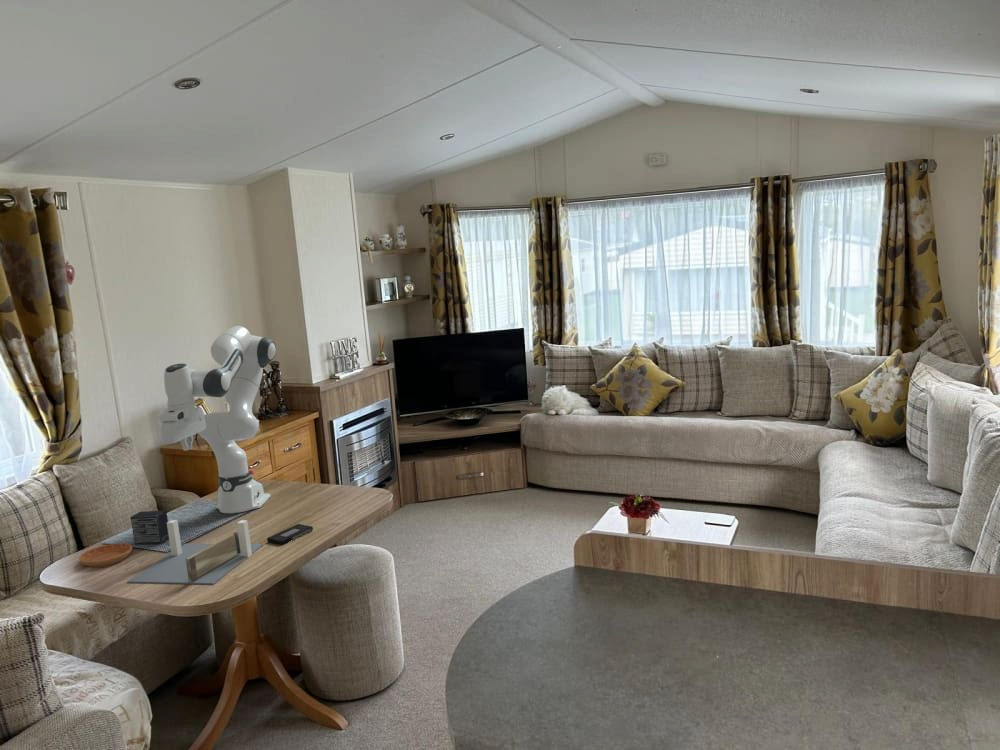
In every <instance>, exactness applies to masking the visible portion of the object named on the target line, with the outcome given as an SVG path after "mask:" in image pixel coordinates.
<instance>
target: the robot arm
mask: <svg viewBox="0 0 1000 750" xmlns="http://www.w3.org/2000/svg"><path fill="white" fill-rule="evenodd" d="M276 352H277V346H276V343H275V341H274V340H273V339H271V338H269V337H265V336H264V337H263V336H258V335H252V334H251V332H250V331H249V330H248V329H247V327H244V326H241V325H234V326H231V327H230V328H228V329H227V330H225V331H224V332H222V333H221V334H220V335H218V337H217V338H216V339H215V340H214V341H213V343H211V346H210V354H211V357H212V358H213V360H214V361H215V363H217V364H218V365H220V367H218V368H214V369H193V368H191V367H189V366H188V364H187V363H176V364H172V365H169V366H167V367H166V368H165V370H164V374H163V377H164V378H163V379H164V380H163V381H164V391H165V394H166V397H167V403H166V404H167V407H166V409H165V410H164V411H163V412H162V413H161V414H160V415H159V417H158V418H159V422H161V426H160V429H161V431H160V432H161V437H162V441H163V443H164V444H166V445H168V444H169V445H171V444H176V443H178V442H179V443H180V444H181V446H182V451H183V452H184V451H185V452H186V451H189V450H192V449H193V442H194V436H195V435H197V434H198V435H199V436H200V437H201V438H202V439H204V440H205V442H207V443H208V444H209V446H210V448H211V449H212V451H213V454H214V456H215V459H216V464H217V465H216V466H217V470H218V477H217V478H218V480H217V481H218V485H219V487H218V489H217V496H218V499H217V500H218V504H217V505H216V509H218V510H219V512H220V513H222V514H237V513H243V512H247V511H250V510H256V509H259V508H261V507H262V506H263V505H264V504H265V503H266V502H267V501H268V500H269V498H271V494H270V493H267V492H264V487H263V484H262V483H261V482H259V481H256V480H255V479H253V476H252V475H254V474H255V473H256V472H255V469H249V466H248V465H249V464H248V457H247V454H246V452H245V450H244V449H243V448H241V447H240V446H239V445H238V444H237V443H236V441H239V442H240V441H247V440H251V439H254V438H255V436H256V435H257V434H258V431H259V422H258V419H257V417H256V416H255V415H254V413H253V405H254V401H255V399H256V395H257V394H258V390H259V389H260V385H261V382H262V379H263V378H262V377H263V373H264V370H263V369H264V368H266V367H267V366H268V365H269V364H271V362H272V361H273V360H274V358H275V356H276ZM195 397H197V398H200V397H201V398H206V397H207V398H208V397H211V398H222V397H224V398H225V401H226V403H227V404H228V406H230V407H229V410H228V412H210V413H206V414H204V413H203V411H202V408H201V407H200V406H198V405H196V399H195Z"/></svg>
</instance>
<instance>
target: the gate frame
mask: <svg viewBox="0 0 1000 750" xmlns="http://www.w3.org/2000/svg"><path fill="white" fill-rule="evenodd" d="M236 525H237V532H238V536H239V543H240V550H241V553H240V554H237V555H236V556H234V557H232V558H231V559H229V560H227V561H225V562H224V563H222V564H220V565H218V566H217V567H215V568H213V569H211V570H210V571H208V572H206V573H204V574H203V575H201V576H199V577H198V578H196V579H195V580H193V581H192V580H189V578H188V572H187V565H186V558H188V557H189V556H192V555H194V554H196V553H198V552H199V551H201V550H203V549H205V548H207V547H209V546H211V545H213V544H214V543H189V542H188V543H187V542H186V543H184V544H182V543H181V542H182V541H181V535H180V528H179V523H178V519H177V520H176V519H173V520H172V519H171V520H168V522H167V528H168V535H169V539H168V541H169V547H170V553H168V554H167V555H165V556H164V557H162V558H160V559H159V560H158V561H156V562H155V563H153V564H151V565H150V566H148V567H147V568H145V569H144V570H143V571H141V572H139V573H138V574H137V575H135V576H133V577H132V578H131V579H128V580H127V583H130V584H131V583H132V584H133V583H135V584H170V585H171V584H172V585H173V584H175V585H177V584H178V585H179V584H180V585H216V584H217V583H218V582H219V581H220V580H221V579H222V578H224V577H225V576H226V575H228V574H229V573H230V572H231V571H233V570H234V569H235V568H236V567H238V566H239V565H240V564H242V562H243V563H244V561H245V560H247V559H248V558H249V557H251V556H252V555H253V554H254V553H256V551H258V550H259V549H260V548H262V547H263V546H264V544H263V543H251V536H250V531H249V530H250V528H249V523H248V519H247V520H244V519H242V520H239V521H238V522H236Z"/></svg>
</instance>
